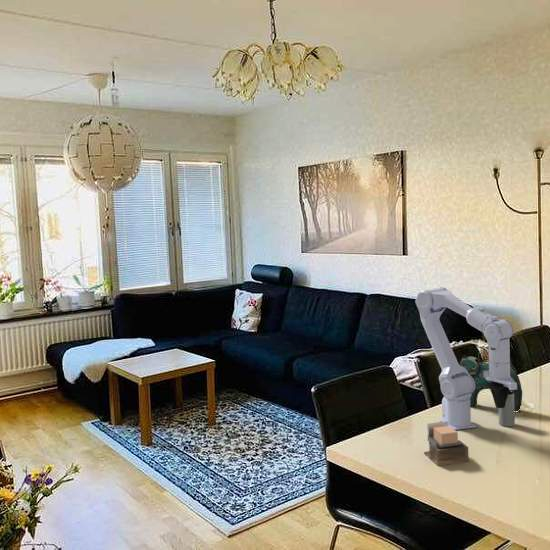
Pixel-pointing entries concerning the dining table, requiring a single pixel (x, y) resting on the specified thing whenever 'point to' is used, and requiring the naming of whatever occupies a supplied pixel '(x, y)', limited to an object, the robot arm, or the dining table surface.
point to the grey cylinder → (507, 412)
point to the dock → (448, 454)
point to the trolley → (442, 435)
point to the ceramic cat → (477, 373)
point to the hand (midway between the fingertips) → (500, 407)
